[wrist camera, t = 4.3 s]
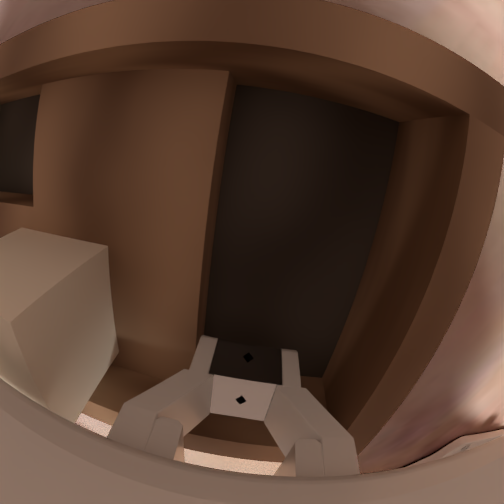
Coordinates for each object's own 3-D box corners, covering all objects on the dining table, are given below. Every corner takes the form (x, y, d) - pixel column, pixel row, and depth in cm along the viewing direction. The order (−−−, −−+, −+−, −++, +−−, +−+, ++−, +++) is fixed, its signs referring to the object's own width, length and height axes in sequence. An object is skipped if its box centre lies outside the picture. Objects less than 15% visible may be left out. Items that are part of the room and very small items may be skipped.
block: (108, 246, 9) (10, 322, 4) (118, 352, 11) (66, 437, 6) (22, 227, 9) (-62, 273, 4) (40, 321, 11) (-17, 380, 6)
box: (432, 101, 8) (507, 88, 4) (338, 394, 13) (351, 461, 9) (-38, 100, 8) (-81, 105, 4) (-26, 289, 14) (-59, 314, 9)
